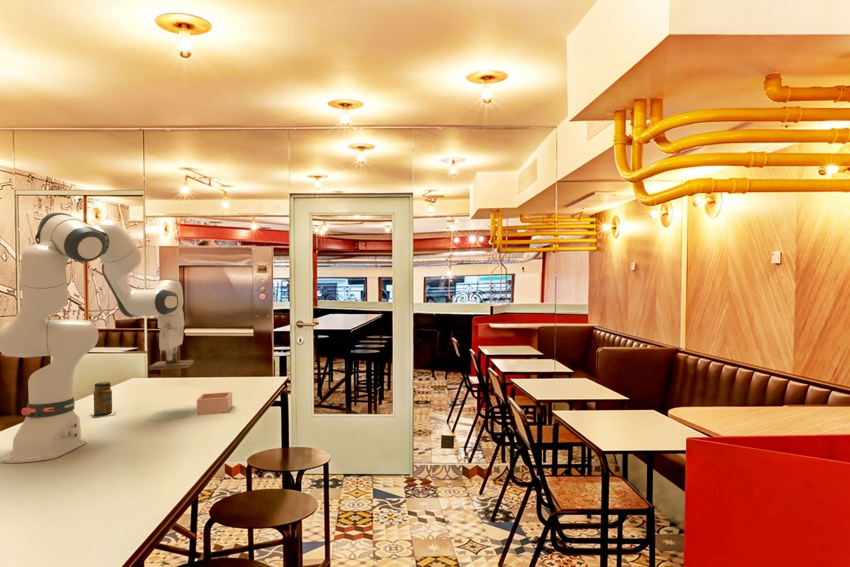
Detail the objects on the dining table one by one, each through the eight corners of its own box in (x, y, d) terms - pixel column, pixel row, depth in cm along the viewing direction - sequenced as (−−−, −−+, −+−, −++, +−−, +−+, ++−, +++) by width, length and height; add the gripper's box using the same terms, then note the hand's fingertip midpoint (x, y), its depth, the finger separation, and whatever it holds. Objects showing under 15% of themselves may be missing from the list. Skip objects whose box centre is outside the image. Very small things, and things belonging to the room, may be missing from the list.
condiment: (112, 411, 209) (111, 380, 209) (116, 414, 202) (115, 383, 202) (90, 414, 204) (89, 383, 204) (93, 418, 198) (92, 386, 198)
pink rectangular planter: (228, 413, 200) (227, 397, 200) (197, 415, 198) (196, 399, 198) (232, 406, 211) (232, 391, 211) (203, 409, 209) (202, 393, 209)
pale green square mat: (187, 418, 194) (187, 417, 194) (146, 421, 191) (146, 420, 191) (196, 409, 208) (195, 408, 208) (157, 412, 205) (157, 411, 205)
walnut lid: (186, 367, 194) (186, 355, 194) (148, 370, 192) (147, 357, 192) (194, 362, 207) (193, 350, 207) (158, 364, 204) (157, 352, 204)
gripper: (173, 324, 190) (173, 363, 190) (186, 320, 210) (186, 355, 210) (153, 325, 188) (154, 364, 188) (168, 321, 208) (169, 356, 208)
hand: (171, 359), depth 199 cm, fingers closed on walnut lid, 3 cm apart
